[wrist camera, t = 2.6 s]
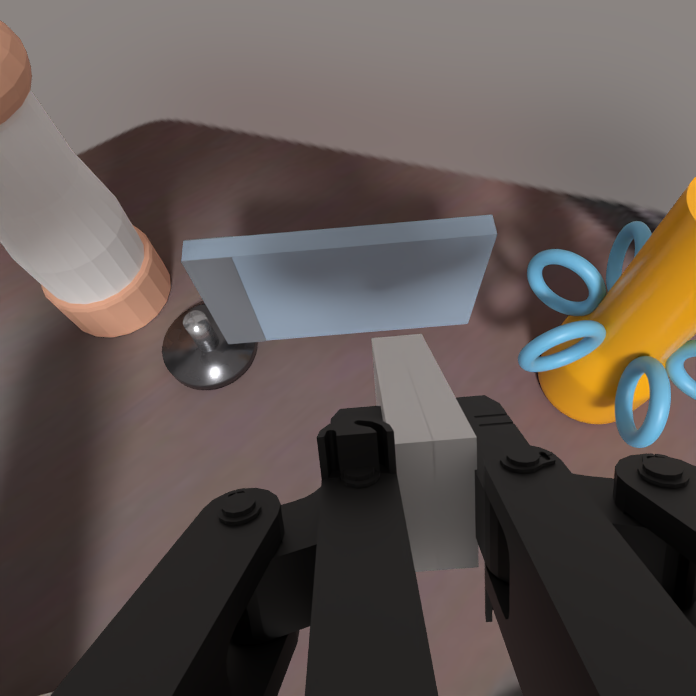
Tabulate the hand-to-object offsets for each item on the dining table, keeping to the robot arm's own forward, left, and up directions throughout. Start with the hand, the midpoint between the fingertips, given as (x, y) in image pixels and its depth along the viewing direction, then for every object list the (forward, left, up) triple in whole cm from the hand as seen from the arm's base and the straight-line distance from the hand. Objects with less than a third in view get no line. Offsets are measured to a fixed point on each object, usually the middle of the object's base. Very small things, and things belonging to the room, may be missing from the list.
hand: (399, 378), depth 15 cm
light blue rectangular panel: (-9, +5, -13) cm, 17 cm away
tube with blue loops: (+4, +13, -15) cm, 20 cm away
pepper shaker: (-22, -5, -15) cm, 27 cm away
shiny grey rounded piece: (-14, -2, -15) cm, 21 cm away
